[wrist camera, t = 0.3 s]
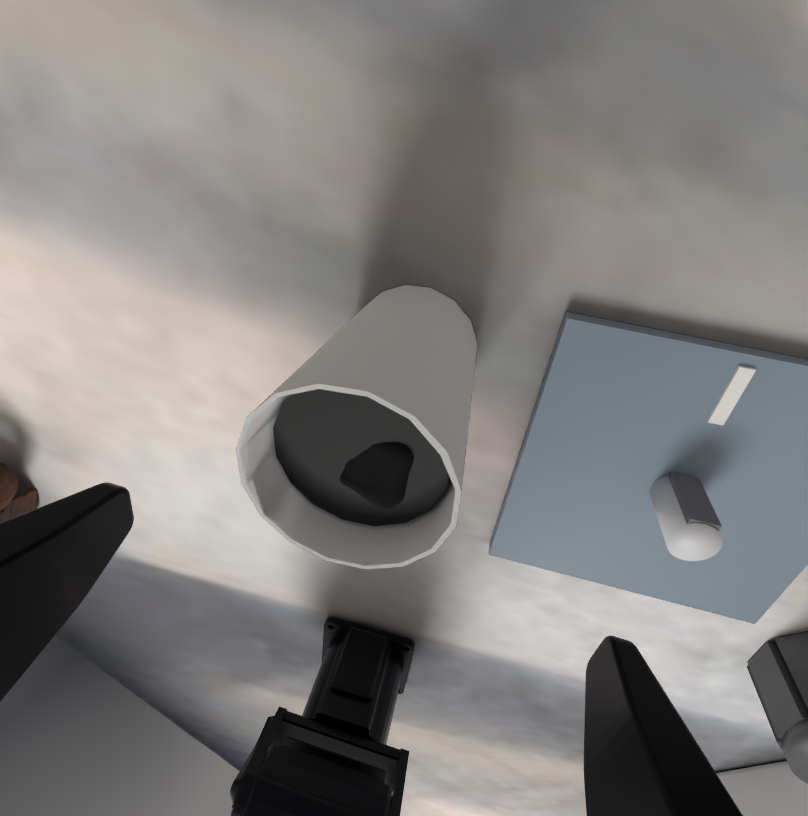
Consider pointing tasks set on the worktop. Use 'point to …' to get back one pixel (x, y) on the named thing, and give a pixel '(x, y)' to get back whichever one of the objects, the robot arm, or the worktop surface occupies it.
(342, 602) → the worktop surface
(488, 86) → the worktop surface
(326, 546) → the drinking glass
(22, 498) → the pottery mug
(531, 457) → the base plate
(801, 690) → the knob
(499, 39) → the worktop surface
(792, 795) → the medicine bottle
